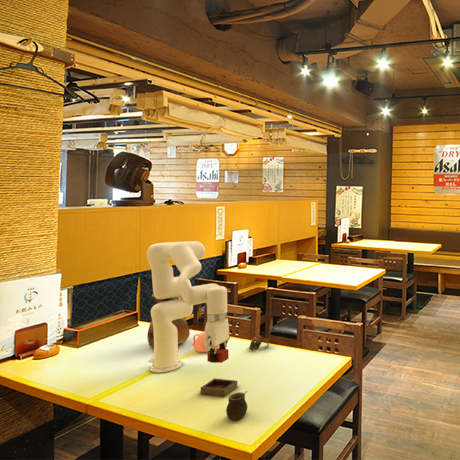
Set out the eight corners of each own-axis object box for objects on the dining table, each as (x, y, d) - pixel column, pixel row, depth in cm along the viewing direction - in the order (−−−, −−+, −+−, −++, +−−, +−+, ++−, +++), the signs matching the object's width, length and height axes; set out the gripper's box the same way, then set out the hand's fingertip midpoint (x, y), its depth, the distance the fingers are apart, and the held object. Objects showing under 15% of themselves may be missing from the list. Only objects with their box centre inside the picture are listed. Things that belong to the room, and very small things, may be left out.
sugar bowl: (212, 354, 190) (212, 335, 190) (185, 353, 191) (185, 334, 190) (224, 345, 203) (223, 327, 202) (199, 345, 203) (198, 327, 202)
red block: (207, 361, 150) (207, 352, 150) (214, 357, 155) (214, 348, 155) (221, 362, 149) (221, 353, 149) (228, 358, 154) (228, 349, 154)
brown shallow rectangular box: (200, 394, 150) (200, 387, 150) (214, 384, 158) (214, 378, 158) (224, 397, 148) (224, 390, 148) (237, 387, 156) (237, 380, 156)
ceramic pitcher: (165, 337, 213) (164, 287, 212) (197, 339, 211) (197, 288, 210) (138, 350, 194) (136, 294, 192) (173, 352, 192) (172, 296, 190)
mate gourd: (230, 411, 138) (230, 385, 137) (251, 411, 138) (251, 385, 137) (222, 422, 130) (222, 395, 130) (244, 422, 131) (244, 395, 130)
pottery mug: (249, 346, 203) (257, 332, 205) (265, 353, 204) (272, 339, 206) (245, 349, 191) (253, 334, 193) (261, 356, 192) (269, 341, 194)
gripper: (222, 310, 160) (223, 351, 161) (194, 322, 143) (195, 367, 144) (238, 311, 159) (238, 352, 160) (211, 323, 142) (212, 369, 143)
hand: (218, 359), depth 152 cm, fingers closed on red block, 4 cm apart
